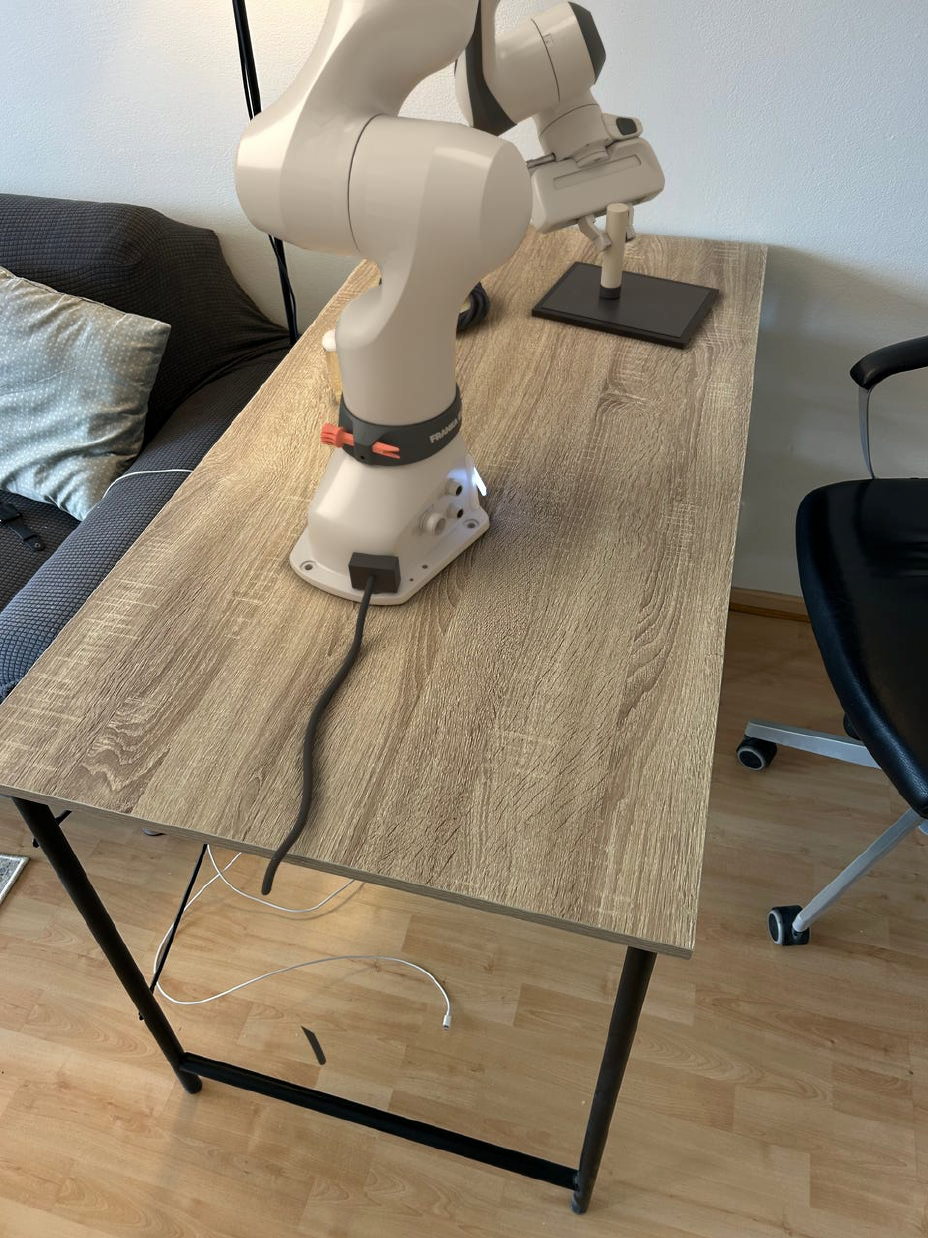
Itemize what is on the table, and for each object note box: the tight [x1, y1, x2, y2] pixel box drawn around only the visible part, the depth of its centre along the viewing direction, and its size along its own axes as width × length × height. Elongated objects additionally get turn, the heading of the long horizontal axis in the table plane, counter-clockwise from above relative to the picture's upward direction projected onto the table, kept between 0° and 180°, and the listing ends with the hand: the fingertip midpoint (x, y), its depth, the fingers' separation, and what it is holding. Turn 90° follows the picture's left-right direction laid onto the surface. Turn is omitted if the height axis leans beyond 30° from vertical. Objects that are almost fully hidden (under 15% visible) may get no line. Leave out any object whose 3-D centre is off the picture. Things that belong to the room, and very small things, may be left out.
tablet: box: [531, 260, 720, 350], centre depth 126 cm, size 16×22×1 cm
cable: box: [378, 277, 491, 332], centre depth 125 cm, size 17×14×4 cm
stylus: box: [599, 203, 629, 299], centre depth 122 cm, size 3×3×12 cm
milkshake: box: [321, 328, 343, 405], centre depth 109 cm, size 4×5×10 cm
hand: (617, 245), depth 121 cm, fingers closed on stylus, 3 cm apart
